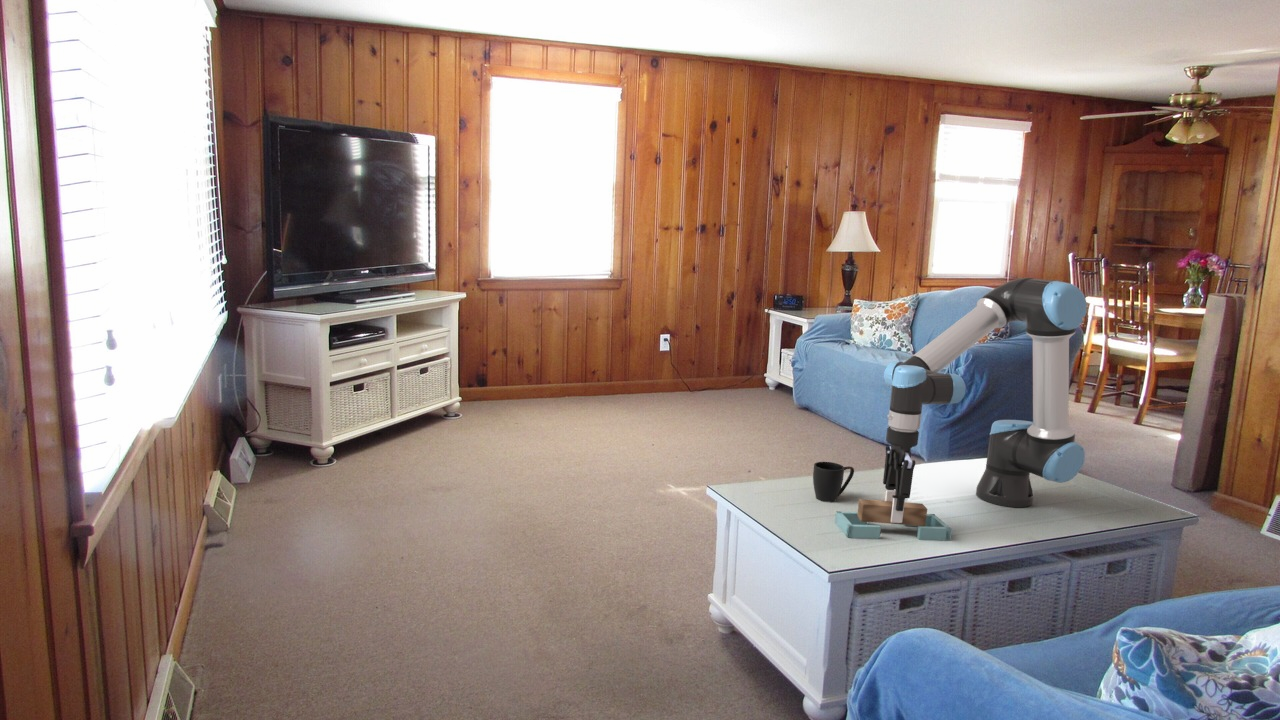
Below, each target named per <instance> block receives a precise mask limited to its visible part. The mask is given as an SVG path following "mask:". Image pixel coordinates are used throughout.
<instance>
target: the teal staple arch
mask: <svg viewBox="0 0 1280 720" xmlns="http://www.w3.org/2000/svg"><path fill="white" fill-rule="evenodd" d="M903 526H904V527H915V526H914V525H903ZM917 527H918V528H917V535H916V536H917V537H916V539H918V540H920V541H921V540H923V541H925V540H926V541H951V539H952V529H953V528H951V527H950V526H949V525H948V524H946V522H944V521H943V520H942V519H941V518H939V516H937V515H936V514H935V513H927V516H926V523H925V526H917Z"/></svg>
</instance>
